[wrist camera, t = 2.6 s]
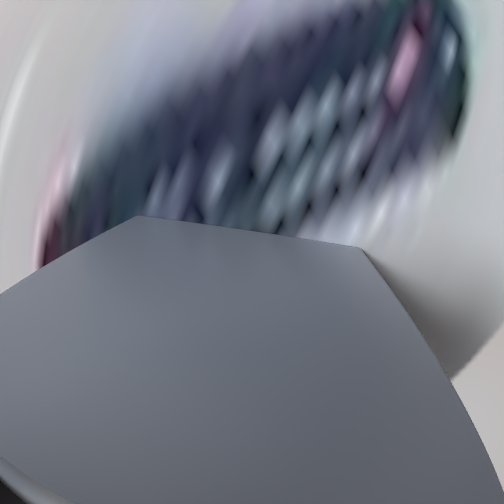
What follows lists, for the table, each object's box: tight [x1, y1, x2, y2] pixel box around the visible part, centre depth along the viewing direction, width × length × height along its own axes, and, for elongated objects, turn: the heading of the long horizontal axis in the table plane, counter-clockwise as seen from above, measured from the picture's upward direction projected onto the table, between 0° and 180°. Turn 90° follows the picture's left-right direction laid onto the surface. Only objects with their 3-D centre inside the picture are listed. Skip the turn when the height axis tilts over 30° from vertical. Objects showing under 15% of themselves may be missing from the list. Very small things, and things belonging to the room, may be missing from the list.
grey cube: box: [0, 215, 504, 504], centre depth 7 cm, size 8×8×9 cm
